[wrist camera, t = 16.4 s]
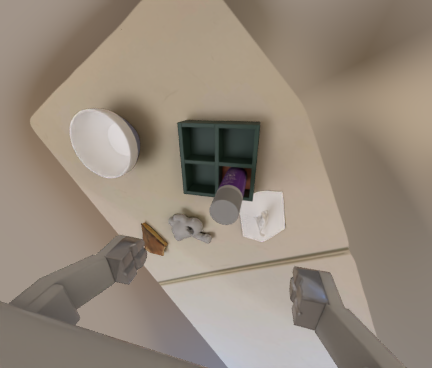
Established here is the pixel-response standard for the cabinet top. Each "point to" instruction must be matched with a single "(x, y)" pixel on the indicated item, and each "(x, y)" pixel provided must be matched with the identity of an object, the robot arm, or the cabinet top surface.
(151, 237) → the shard
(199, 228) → the toy character
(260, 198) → the white relief slab
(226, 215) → the container
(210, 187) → the grid
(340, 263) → the cabinet top surface
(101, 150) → the bowl
